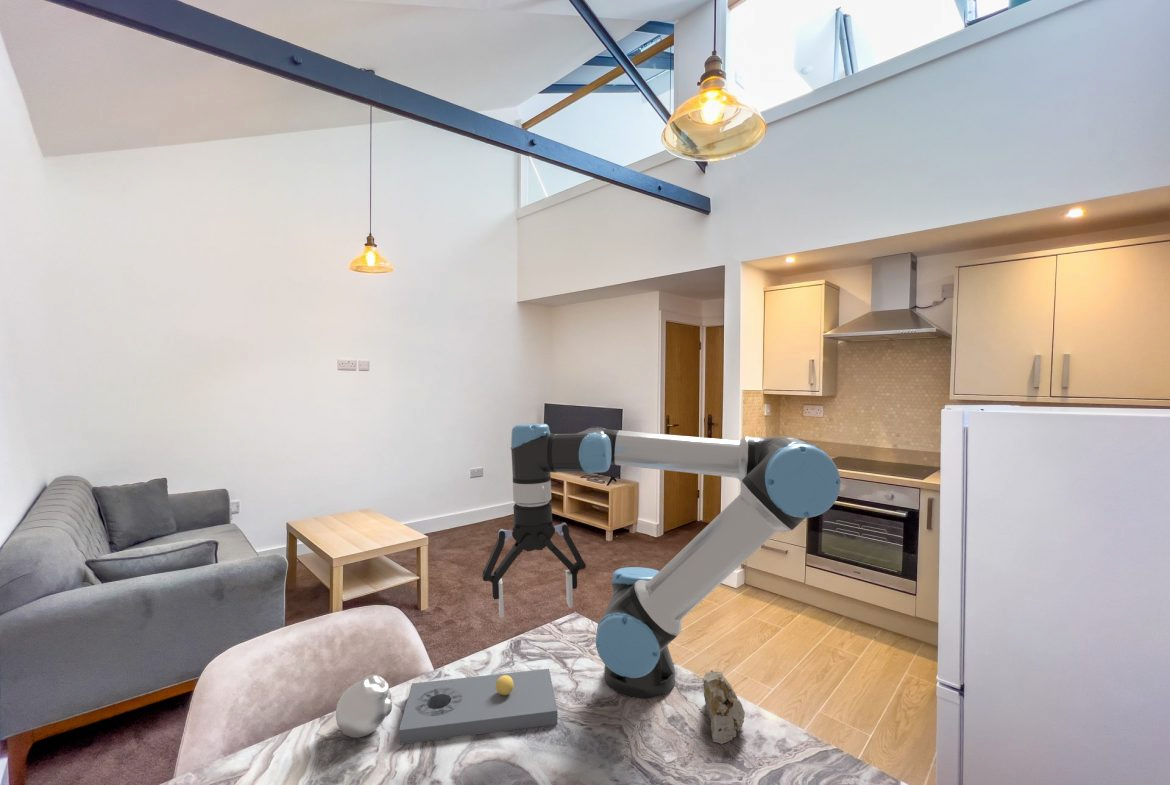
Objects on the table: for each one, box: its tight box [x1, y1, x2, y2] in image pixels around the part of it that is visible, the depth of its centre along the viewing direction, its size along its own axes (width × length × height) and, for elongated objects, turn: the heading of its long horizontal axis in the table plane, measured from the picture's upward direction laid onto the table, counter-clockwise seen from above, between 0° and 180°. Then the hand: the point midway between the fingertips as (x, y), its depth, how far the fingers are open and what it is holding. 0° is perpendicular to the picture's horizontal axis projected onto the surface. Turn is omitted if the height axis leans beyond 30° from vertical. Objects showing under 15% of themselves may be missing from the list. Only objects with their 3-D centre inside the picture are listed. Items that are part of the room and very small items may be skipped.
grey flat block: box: [398, 668, 559, 745], centre depth 97 cm, size 28×14×2 cm, turn 101°
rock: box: [702, 669, 746, 744], centre depth 93 cm, size 12×7×10 cm, turn 171°
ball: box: [496, 675, 514, 695], centre depth 97 cm, size 3×3×3 cm
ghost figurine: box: [335, 674, 393, 738], centre depth 90 cm, size 9×10×10 cm
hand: (536, 609), depth 98 cm, fingers open, 13 cm apart
